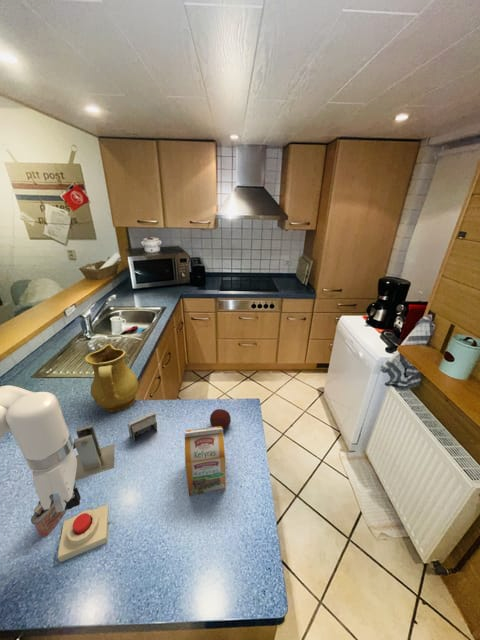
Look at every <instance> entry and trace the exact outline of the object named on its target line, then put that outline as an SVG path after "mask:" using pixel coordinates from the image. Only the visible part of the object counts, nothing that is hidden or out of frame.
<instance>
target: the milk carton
mask: <svg viewBox="0 0 480 640" xmlns="http://www.w3.org/2000/svg"><path fill="white" fill-rule="evenodd" d="M184 463H185V464H184V465H185V473H186V482H187V490H188V491H187V493H188V497H192V496H197V495H203V494H210V493H215V492H222V491H226V490H227V488H226V485H227V484H226V483H227V481H226V480H227V479H226V448H225V436H224V430H223V428H222V426H218V427H212V426H210V427H203V428H195V429H194V428H193V429H187V430H185V432H184Z"/></svg>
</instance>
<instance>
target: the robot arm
mask: <svg viewBox="0 0 480 640" xmlns="http://www.w3.org/2000/svg"><path fill="white" fill-rule="evenodd" d="M9 431H11V433H12V436H13V437H14V439H15V442H16V444H17V446H18V447H19V450H20V452H21V454H22V456H23V458H24V460H25V462H26V464H27V466H28V469H29V470H30V471H32V480H33V485H34V489H35V492H36V494H37V495H36V496H37V498H38V501H39V500H40V503H41V505H42V507H43V509H45V510H46V509H50V505H51V500H53V501H54V505H55V508H56V512H57V513H59V512H62V511H64V510H67V511H68V510H71V509H74V508H75V507H78V506H80V504H81V499H82V498H81V495H80V492H79V489H78V487H77V482H76V481H77V480H75V476H76V470H77V459H76V456H77V454H76V453H75V449H73V447H74V446H73V443H74V441H73V439H72V436H71V433H70V430H69V428H68V425H67V422H66V419H65V417H64V414H63V411H62V408H61V405H60V402H59V399H58V398H57V396H56V395H55V394H53V392H48V391H36V392H35V391H31V390H28V389H25V388H22V387H19V386H15V385H2V386H0V440H2V438H4V436H5V435H7V434H8V433H9Z"/></svg>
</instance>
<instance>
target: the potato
mask: <svg viewBox="0 0 480 640" xmlns="http://www.w3.org/2000/svg"><path fill="white" fill-rule="evenodd" d="M231 421H232V420H231V414H230V412H229V411H227V410H225V409H223V408H217V409H214V410H213V411H212V412H211V414H210V416H209V423H210V425H211V426H210V427H218V426H222V428H223V431H224V430H226V429H227V428H228V427H230V425H231Z"/></svg>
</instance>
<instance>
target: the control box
mask: <svg viewBox="0 0 480 640" xmlns="http://www.w3.org/2000/svg"><path fill="white" fill-rule="evenodd" d="M109 510H110V509H109V504H105V505H101V506H99V507H97V508H94V509H86V510H82V511H81V512H79V513H78V514H77V515H76V516H73V517H71V518H67V519H65V520H63V525H62V530H61V536H60V540H59V545H58V552H57V557H56V558H57V560H58V562H59V563H63V562H65V561H66V560H70V559H71V558H74V557H76V556H78V555H81V554H83V553H86V552H88V551H90V550H92V549H95V548H97V547H99V546H102V545H105V544H107V543H109V529H110V528H109V525H110V524H109ZM83 513H87V514H89V516H90V518H91V525H90V527H89V528H88V530H87V531H85V532H84V533H82V534H77V533H75V531H74V529H73V522H74V520H75V519H76V518H77V517H78V516H79V515H81V514H83Z"/></svg>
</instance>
